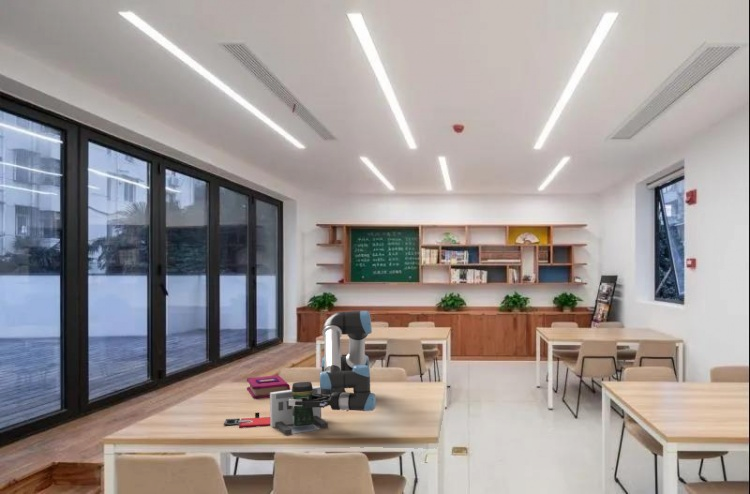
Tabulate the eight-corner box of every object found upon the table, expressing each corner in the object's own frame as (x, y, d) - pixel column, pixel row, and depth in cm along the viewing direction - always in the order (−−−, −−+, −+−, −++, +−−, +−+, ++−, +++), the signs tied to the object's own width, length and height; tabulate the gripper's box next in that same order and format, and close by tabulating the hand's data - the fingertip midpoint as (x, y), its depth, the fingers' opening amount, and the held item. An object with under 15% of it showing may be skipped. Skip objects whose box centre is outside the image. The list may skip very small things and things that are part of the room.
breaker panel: (270, 425, 227) (269, 392, 228) (319, 417, 238) (318, 386, 239) (272, 427, 224) (272, 394, 225) (322, 419, 235) (321, 387, 236)
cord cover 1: (275, 426, 225) (275, 422, 225) (281, 425, 227) (281, 421, 227) (284, 435, 213) (284, 430, 213) (291, 434, 214) (291, 429, 214)
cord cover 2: (310, 420, 233) (310, 416, 233) (316, 419, 235) (316, 415, 235) (321, 428, 221) (321, 424, 221) (327, 427, 222) (327, 423, 222)
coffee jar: (313, 420, 227) (312, 379, 228) (314, 425, 219) (313, 383, 220) (291, 422, 225) (291, 381, 226) (292, 427, 217) (291, 384, 218)
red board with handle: (226, 420, 239) (222, 430, 224) (226, 414, 239) (222, 423, 224) (289, 416, 243) (289, 426, 229) (289, 410, 244) (289, 420, 229)
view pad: (286, 427, 224) (286, 426, 224) (311, 423, 230) (311, 422, 230) (294, 433, 214) (294, 433, 214) (319, 429, 220) (319, 428, 220)
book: (280, 386, 313) (280, 373, 313) (290, 395, 287) (289, 382, 287) (246, 389, 305) (246, 377, 305) (253, 399, 279) (253, 386, 279)
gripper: (334, 416, 208) (283, 414, 213) (347, 403, 229) (301, 402, 234) (333, 398, 209) (283, 397, 214) (347, 387, 230) (300, 386, 234)
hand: (292, 399), depth 224 cm, fingers closed on coffee jar, 8 cm apart
